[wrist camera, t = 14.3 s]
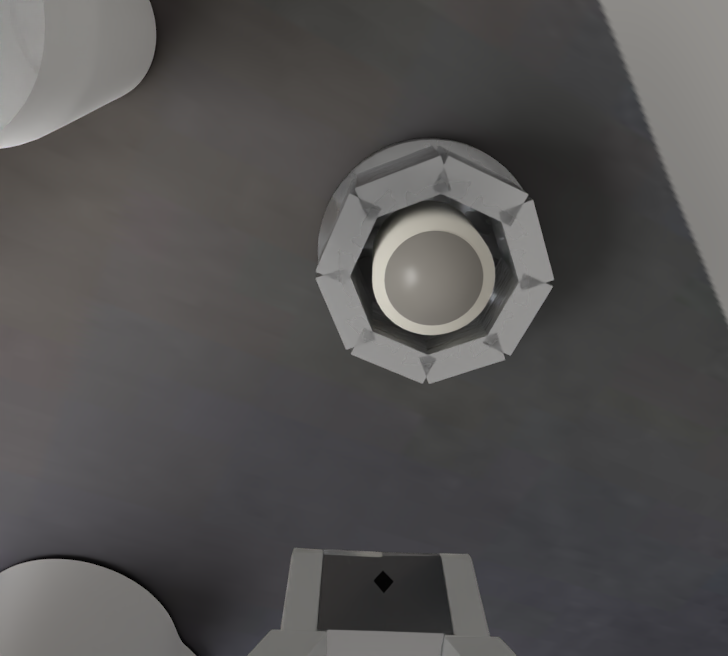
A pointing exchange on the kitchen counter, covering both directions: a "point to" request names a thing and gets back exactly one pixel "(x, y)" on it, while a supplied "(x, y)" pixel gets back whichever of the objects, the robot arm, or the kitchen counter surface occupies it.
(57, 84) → the cup
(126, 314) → the kitchen counter surface
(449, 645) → the robot arm
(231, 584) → the kitchen counter surface
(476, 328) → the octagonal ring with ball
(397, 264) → the cap
